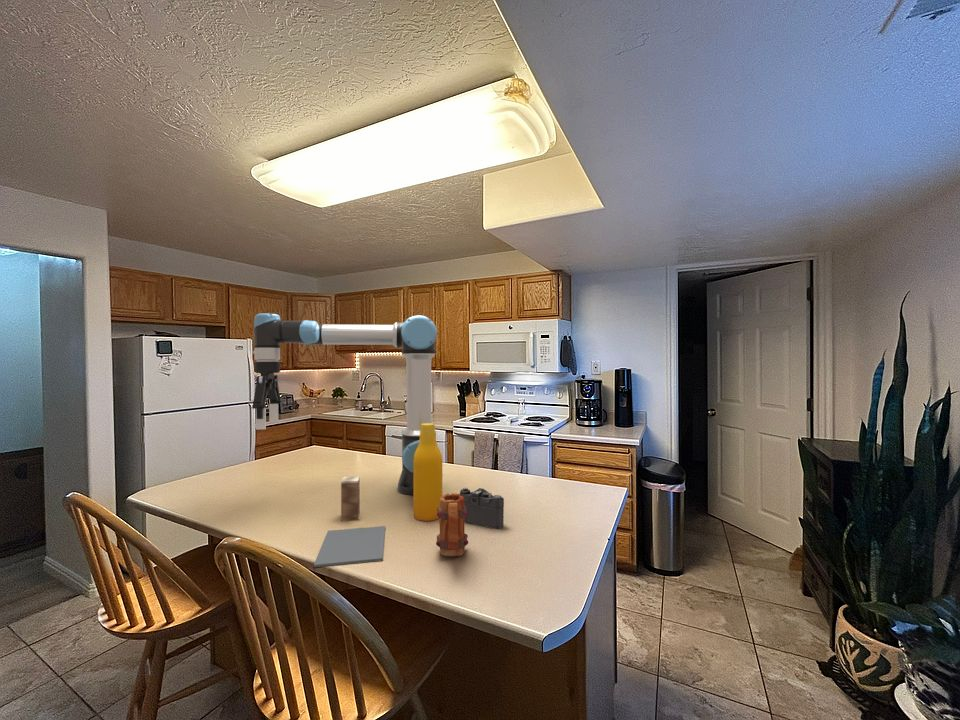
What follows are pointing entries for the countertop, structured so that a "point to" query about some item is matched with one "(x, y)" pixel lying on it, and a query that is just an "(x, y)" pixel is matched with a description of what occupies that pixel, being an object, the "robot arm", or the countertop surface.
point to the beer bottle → (427, 475)
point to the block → (350, 498)
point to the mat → (351, 546)
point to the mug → (452, 525)
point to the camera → (483, 508)
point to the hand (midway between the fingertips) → (267, 425)
